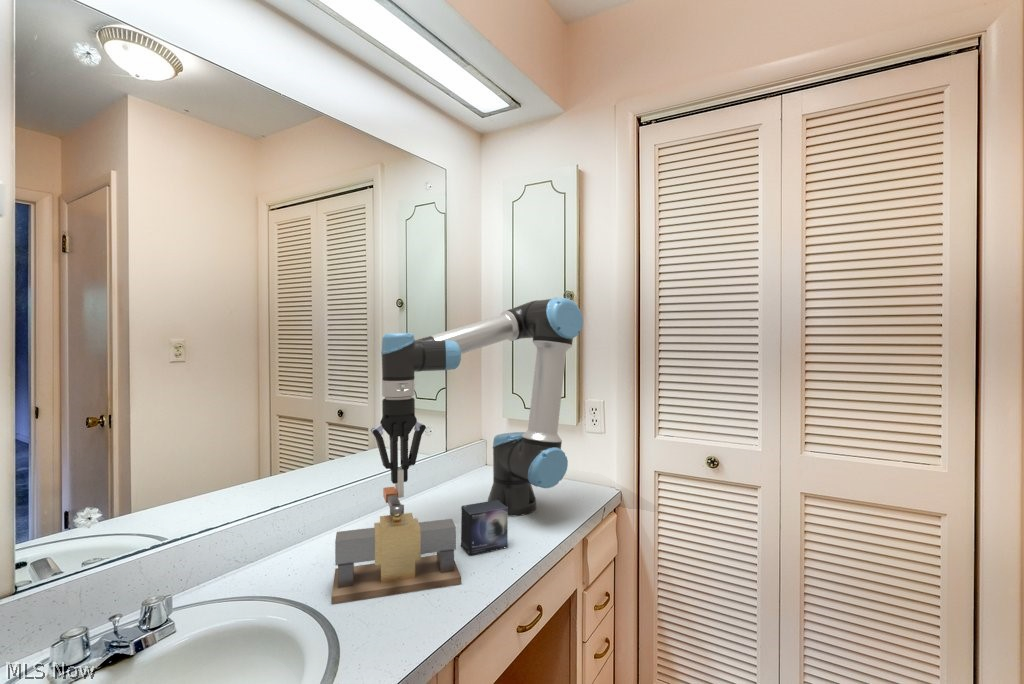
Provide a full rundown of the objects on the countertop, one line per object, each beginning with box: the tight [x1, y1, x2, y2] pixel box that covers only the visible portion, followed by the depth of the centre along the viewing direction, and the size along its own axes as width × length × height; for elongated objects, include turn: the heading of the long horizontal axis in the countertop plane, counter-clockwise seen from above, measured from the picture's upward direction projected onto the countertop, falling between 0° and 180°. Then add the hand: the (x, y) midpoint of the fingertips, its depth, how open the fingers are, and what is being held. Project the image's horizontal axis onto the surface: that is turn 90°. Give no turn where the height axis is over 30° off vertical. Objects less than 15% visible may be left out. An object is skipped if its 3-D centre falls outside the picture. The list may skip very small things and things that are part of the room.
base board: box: [331, 554, 462, 605], centre depth 103 cm, size 26×12×2 cm, turn 107°
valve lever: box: [382, 486, 405, 516], centre depth 109 cm, size 15×3×2 cm, turn 22°
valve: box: [334, 512, 457, 588], centre depth 103 cm, size 25×7×13 cm, turn 107°
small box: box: [460, 500, 509, 556], centre depth 119 cm, size 11×6×10 cm, turn 117°
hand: (399, 495), depth 113 cm, fingers closed
